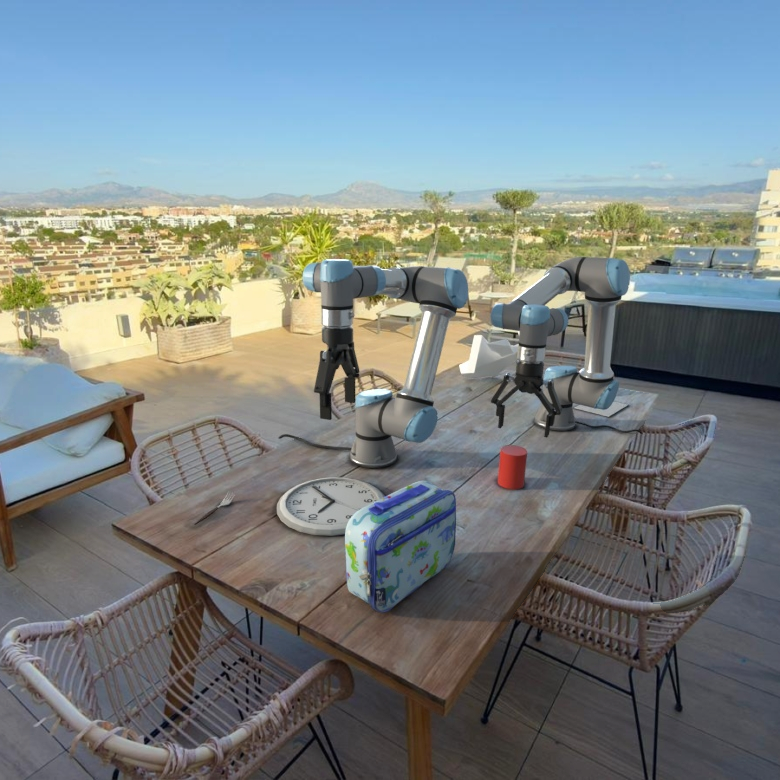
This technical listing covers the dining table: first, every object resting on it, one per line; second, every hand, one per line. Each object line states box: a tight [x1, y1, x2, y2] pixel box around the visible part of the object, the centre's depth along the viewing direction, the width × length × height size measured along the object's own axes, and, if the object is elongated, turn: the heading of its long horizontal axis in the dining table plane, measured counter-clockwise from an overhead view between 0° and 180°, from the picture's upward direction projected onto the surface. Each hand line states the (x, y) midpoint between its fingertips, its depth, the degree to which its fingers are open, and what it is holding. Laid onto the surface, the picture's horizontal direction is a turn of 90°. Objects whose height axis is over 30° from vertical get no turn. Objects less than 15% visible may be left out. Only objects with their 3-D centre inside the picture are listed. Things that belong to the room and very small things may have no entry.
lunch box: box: [344, 480, 457, 614], centre depth 109 cm, size 26×11×21 cm, turn 135°
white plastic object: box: [458, 331, 544, 387], centre depth 255 cm, size 37×45×31 cm
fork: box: [193, 490, 237, 526], centre depth 138 cm, size 3×16×2 cm, turn 160°
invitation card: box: [573, 400, 629, 418], centre depth 226 cm, size 21×1×15 cm
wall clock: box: [276, 476, 386, 537], centre depth 142 cm, size 30×2×30 cm
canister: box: [497, 444, 528, 490], centre depth 155 cm, size 8×8×11 cm
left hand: (338, 410), depth 131 cm, fingers open, 13 cm apart
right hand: (523, 431), depth 153 cm, fingers open, 13 cm apart
